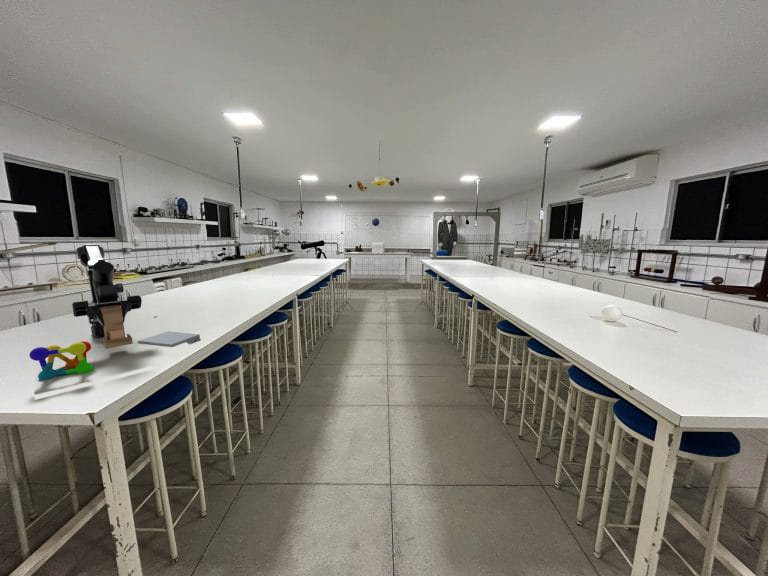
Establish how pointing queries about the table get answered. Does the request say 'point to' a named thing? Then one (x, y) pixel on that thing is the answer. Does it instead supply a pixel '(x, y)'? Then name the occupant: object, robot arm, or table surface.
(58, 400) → the table surface
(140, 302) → the robot arm
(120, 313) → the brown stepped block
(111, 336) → the block
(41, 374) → the molecular model
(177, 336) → the plate
